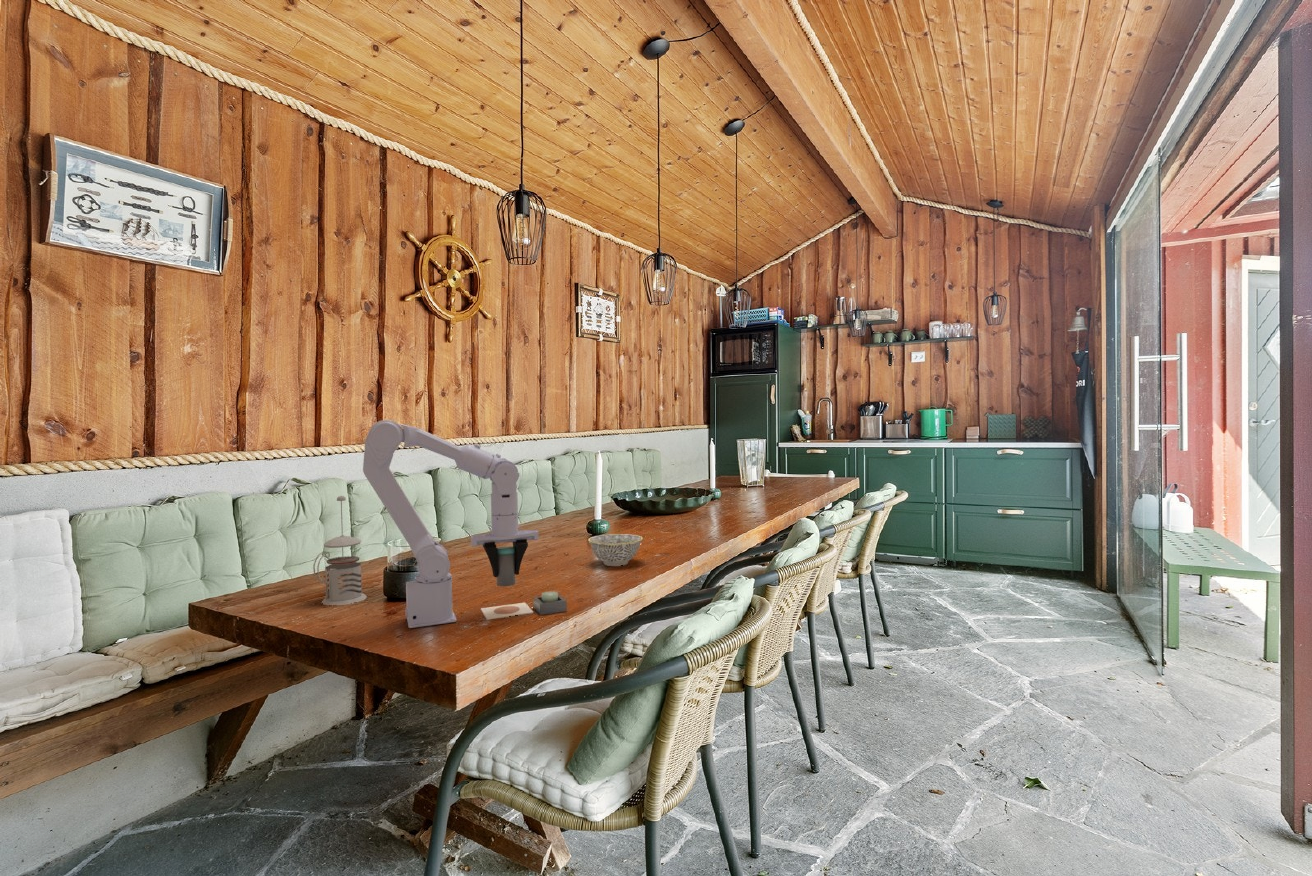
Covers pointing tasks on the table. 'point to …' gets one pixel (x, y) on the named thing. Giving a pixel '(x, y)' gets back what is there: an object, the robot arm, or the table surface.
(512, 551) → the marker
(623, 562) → the bowl
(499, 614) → the paper
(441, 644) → the table surface
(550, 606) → the button base
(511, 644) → the table surface
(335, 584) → the french press
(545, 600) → the button
